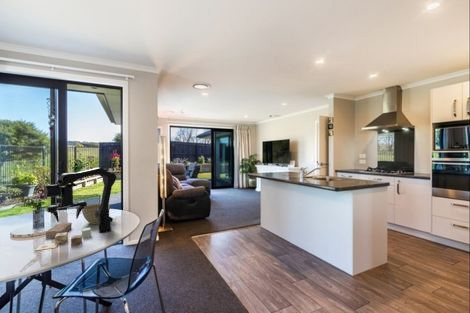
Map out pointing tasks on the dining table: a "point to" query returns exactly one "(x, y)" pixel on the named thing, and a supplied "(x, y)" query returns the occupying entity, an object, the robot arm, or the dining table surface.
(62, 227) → the brown rock
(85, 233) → the block
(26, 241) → the dining table surface
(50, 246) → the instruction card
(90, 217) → the tan bowl
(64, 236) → the oak block
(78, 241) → the walnut block
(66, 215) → the dining table surface
